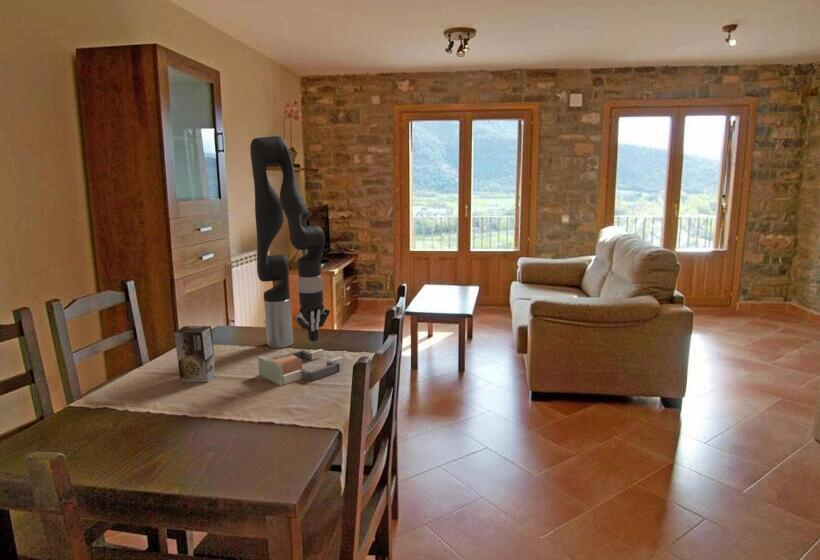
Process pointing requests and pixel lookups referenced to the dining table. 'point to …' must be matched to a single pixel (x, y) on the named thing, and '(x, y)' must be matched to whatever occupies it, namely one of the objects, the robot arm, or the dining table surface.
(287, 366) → the terracotta block
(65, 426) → the dining table surface
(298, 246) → the robot arm
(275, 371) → the box
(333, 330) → the dining table surface
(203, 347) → the coffee box
